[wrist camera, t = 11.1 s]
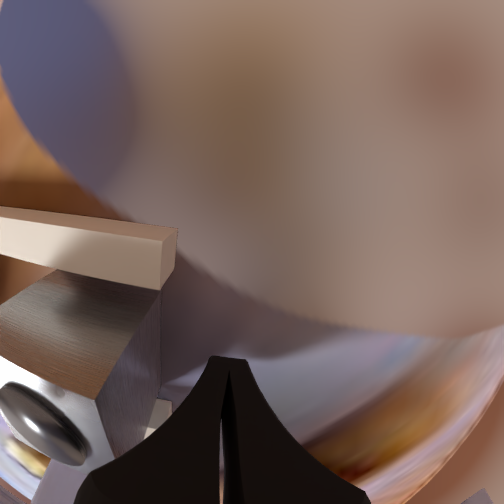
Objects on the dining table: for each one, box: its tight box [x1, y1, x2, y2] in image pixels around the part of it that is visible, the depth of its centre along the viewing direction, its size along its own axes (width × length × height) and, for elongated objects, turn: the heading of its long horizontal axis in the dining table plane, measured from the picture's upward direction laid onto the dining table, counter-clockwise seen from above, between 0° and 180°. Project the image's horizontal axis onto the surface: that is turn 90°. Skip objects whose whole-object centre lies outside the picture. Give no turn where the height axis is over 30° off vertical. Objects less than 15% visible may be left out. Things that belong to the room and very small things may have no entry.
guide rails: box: [0, 206, 178, 439], centre depth 9 cm, size 10×12×2 cm
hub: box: [0, 269, 162, 475], centre depth 7 cm, size 5×5×6 cm
